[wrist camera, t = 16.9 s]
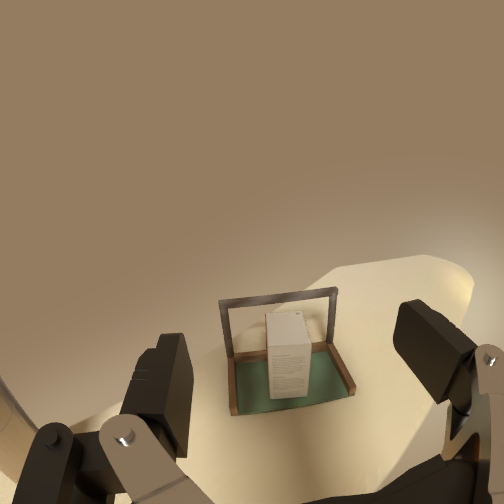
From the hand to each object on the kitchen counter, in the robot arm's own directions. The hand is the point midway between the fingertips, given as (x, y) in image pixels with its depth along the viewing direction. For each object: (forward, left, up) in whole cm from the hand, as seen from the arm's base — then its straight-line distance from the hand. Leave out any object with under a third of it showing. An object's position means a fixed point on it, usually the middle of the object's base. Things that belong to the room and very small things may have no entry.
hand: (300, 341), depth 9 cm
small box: (+4, +22, -26) cm, 34 cm away
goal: (+4, +23, -26) cm, 35 cm away
